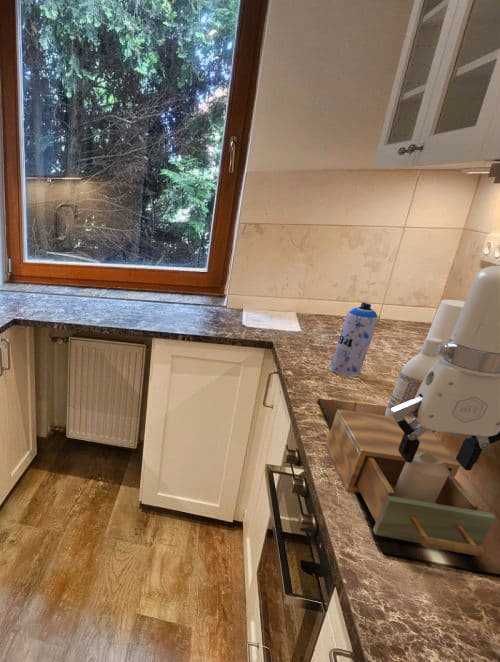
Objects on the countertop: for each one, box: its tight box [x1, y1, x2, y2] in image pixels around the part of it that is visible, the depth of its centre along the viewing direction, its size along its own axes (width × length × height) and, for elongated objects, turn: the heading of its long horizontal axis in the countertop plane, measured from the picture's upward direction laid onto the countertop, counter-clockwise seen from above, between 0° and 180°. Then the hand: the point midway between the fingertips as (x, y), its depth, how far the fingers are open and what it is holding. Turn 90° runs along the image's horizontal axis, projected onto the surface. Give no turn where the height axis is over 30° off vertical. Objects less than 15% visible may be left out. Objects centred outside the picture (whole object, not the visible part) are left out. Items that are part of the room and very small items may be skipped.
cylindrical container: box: [426, 299, 465, 359], centre depth 115 cm, size 7×7×25 cm
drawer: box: [355, 455, 497, 557], centre depth 75 cm, size 20×14×7 cm
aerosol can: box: [328, 302, 379, 378], centre depth 131 cm, size 8×8×20 cm
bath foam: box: [384, 336, 442, 419], centre depth 106 cm, size 7×7×20 cm
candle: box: [393, 453, 449, 504], centre depth 76 cm, size 6×6×10 cm
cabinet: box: [325, 409, 461, 494], centre depth 89 cm, size 16×15×9 cm
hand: (433, 460), depth 74 cm, fingers open, 7 cm apart
